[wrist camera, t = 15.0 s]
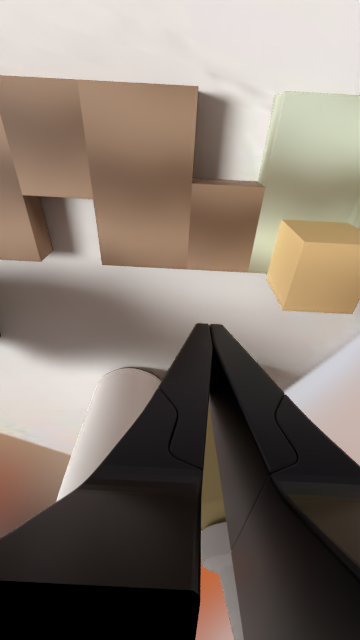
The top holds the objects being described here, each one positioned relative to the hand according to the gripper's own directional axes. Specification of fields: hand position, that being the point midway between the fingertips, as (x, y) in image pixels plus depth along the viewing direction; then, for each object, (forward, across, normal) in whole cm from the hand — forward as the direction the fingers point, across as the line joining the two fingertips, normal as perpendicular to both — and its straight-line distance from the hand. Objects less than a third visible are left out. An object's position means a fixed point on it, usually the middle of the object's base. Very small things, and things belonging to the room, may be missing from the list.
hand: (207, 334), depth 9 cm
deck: (+12, +4, -2) cm, 13 cm away
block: (+10, -7, +1) cm, 12 cm away
